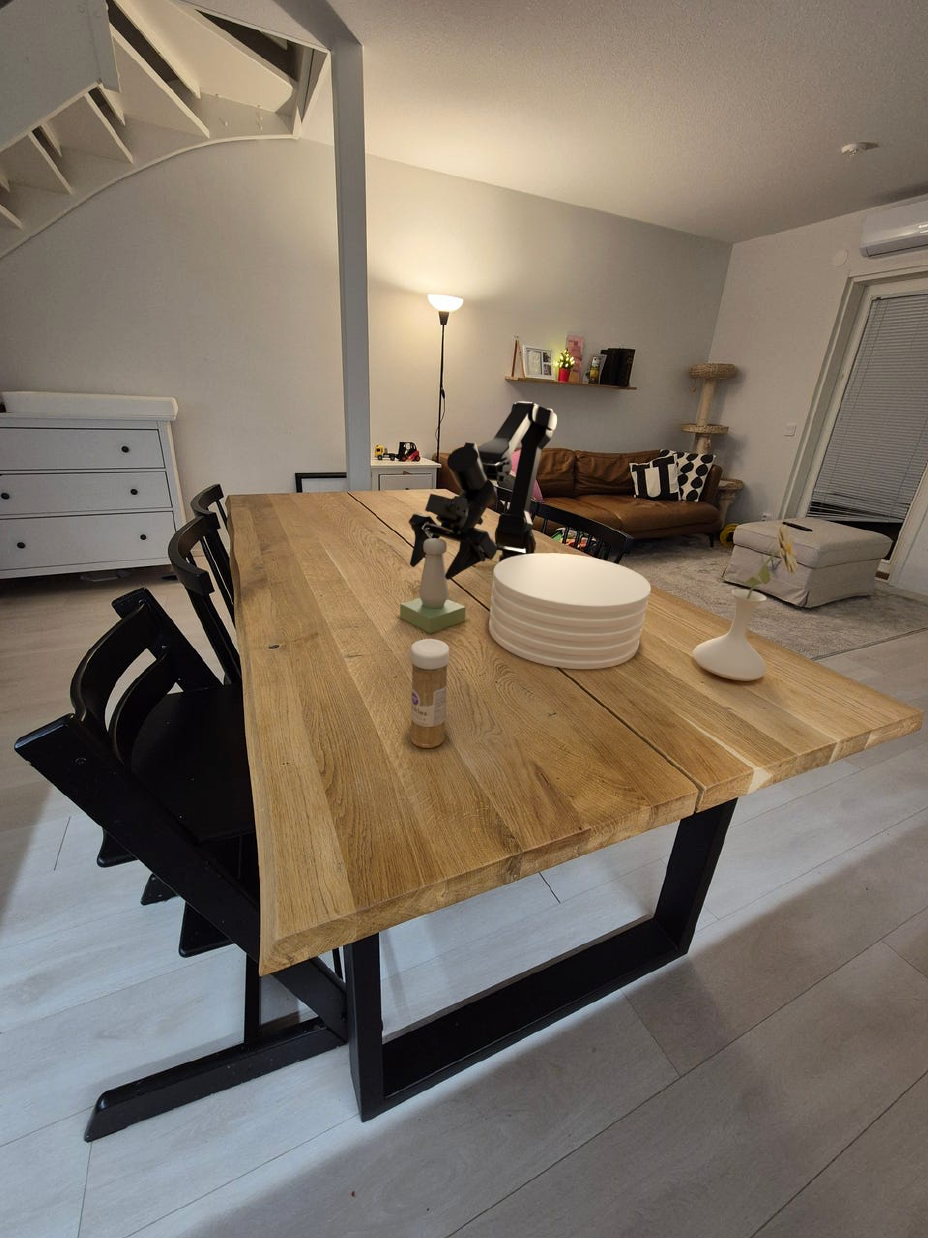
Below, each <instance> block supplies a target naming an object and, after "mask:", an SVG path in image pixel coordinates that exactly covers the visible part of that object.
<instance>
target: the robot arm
mask: <svg viewBox="0 0 928 1238" xmlns="http://www.w3.org/2000/svg"><path fill="white" fill-rule="evenodd" d="M557 424H558V417H557V414H556V413H555V412H554V411H553V408H549V407H548V408H547V407H543V406H540V405H539V404H537V403H535V402H534V401H533V402H532V401H516V402H514V403H513V404H512V406H511V411H510V412H509V414H508V415H507V417H506V418H505V420H504V421H503V423H502V424H501V426H500V427H499V428H498V430H497V432H496V433H495V435H494V437H492V439H490V440H488V441H485V442H483V443H481V444H480V446H478V445H477V444H476V442H469V441H465V443H464V445H463V446H461V447H458V448H457V449H455V450H454V451H452V452H451V453H450V454H449V455H448V456H447V460H446V464H447V467H448V469H449V471H450V474H451V475H452V477H453V479H454V482H455V484H456V486H457V487H458V489H460V490H461V492H460V494H459V495H455V496H454V497H452V498H451V497H447V496H443V495H438V494H434V493H429V497H428V500H427V503H426V505H425V509H424V511H425V512H427V513H431V514H433V515H436V517H435V519H436V521H438V522H439V523H440V525H438V524H437V523H436V522H435V520H434V519H433V518H432V516H430V515H427V514H424V513H419V512H416V513H413V514H412V516H411V517H410V518H409V520H408V521H407V522H408V524H409V525H410V528H411V530H412V531H413V532H414V544H413V547H412V551H411V557H410V561H409V565H410V567H412V568H415V567H416V566H417V565H418V564H420V563H421V561H422V560H423V559H425V558H426V552H424V548H423V545H424V541H425V540H427V539H430V538H438V539H440V537H441V538H445V539H447V540H451V541H454V542H458V543H459V548H458V551H457V553H456V555H455V557H454V558H453V560H452V562H451V563H450V565H449V567H448V568H447V570H446V574H445V578H446V579H447V581H449V580H451V579H453V578H454V577H456V576H458V575H459V574H460V573H462V572H463V571H466V570H468V569H469V568H470V567H473V566H474V565H476V564H478V563H481V562H482V563H484V562H485V561H487V560H489V561H492V560H493V559H494V558H495V555H496V554H497V552H498V551H501V554H499V555H498V563H499V562H500V561H502V560H504V559H507V558H510V557H514V556H518V555H524V554H535V551H536V548H537V547H536V546H537V541H536V539H535V536H534V533H533V526H534V525H533V522H532V519H531V516H530V508H531V502H532V498H533V493H534V488H535V485H536V479H537V473H538V470H539V464H540V459H541V454H542V450H543V449H544V448H545V447H546V446H547V445H548V444H549V443H550V441H551V440H552V437H553V434H554V431H555V430H556V428H557ZM519 444H521V445H520V451H519V456H518V461H517V467H516V471H515V477H514V481H513V487H512V491H511V496H510V501H509V506H508V508H507V510H505V512H504V513H500V514H499V516H498V521H497V525H496V527H495V531H494V538H493V537H492V536H491V535H490V533H489V532H488V531H487V530H483V529H480V528H476V526H477V525H479V526H482V525H483V524H484V519H483V518H482V516H483V515H484V513H485V511H486V510H487V509H488V506H490V503H491V502H492V503H497V502H498V493H497V487H495V486H494V484H493V482H499V483H503V482H505V480H507V478H508V477H509V476H510V474H511V471H512V470H513V460H512V456H513V454H514V452H515V450H516V449H517V447H518V445H519ZM492 481H493V482H492ZM486 559H487V560H486Z"/></svg>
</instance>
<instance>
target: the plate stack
mask: <svg viewBox="0 0 928 1238" xmlns="http://www.w3.org/2000/svg"><path fill="white" fill-rule="evenodd" d="M492 580H493V581H492V584H491V597H490V609H489V621H488V630H489V634H490V636H491V637H492V639H493V640H494V641H495V643H497V644H498V645H499V646H500V647H502V648H503V649H504V650H506V651H508V652H509V653H510V654H513V655H515V656H516V657H520V658H522V659H525V660H527V661H530V662H532V663H533V662H534V663H536V664H539V665H544V666H548V667H554V668H560V669H570V670H598V669H599V670H600V669H606V668H610V667H615V666H618V665H622V664H623V663H626V662H627V661H629V660H631V659H632V658H633V657H634V656H635V655H636V654H637V653H638V649H639V645H640V639H641V636H642V631H643V625H644V623H645V618H646V612H647V609H648V604H649V598H650V595H651V589H652V588H651V584H650V582H649V581H648V580H647V579H646V578H645V577H644V576H643V575H641V574H639V573H638V572H637V571H635V570H632V569H631V568H628V567H626V566H623V565H621V564H618V563H615V562H612V561H608V560H605V559H599V558H596V557H591V556H584V555H579V554H569V553H557V552H556V553H555V552H540V553H539V552H538V553H537V552H534V554H524V555H518V556H514V557H510V558H507V559H504V560H502V561H500V562H499V561H498V563H496V565H495V566H494V567H493V571H492Z"/></svg>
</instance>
